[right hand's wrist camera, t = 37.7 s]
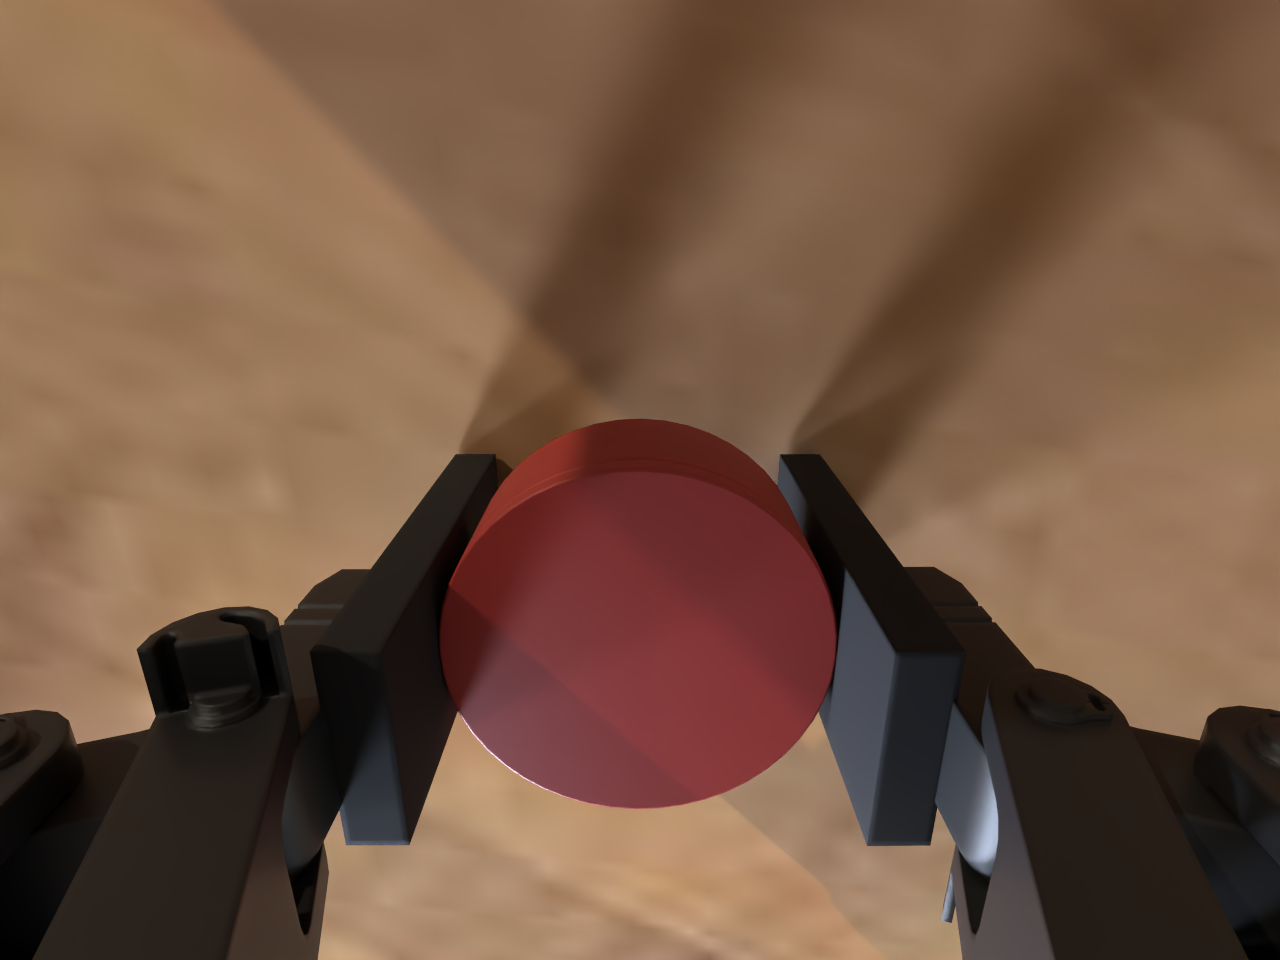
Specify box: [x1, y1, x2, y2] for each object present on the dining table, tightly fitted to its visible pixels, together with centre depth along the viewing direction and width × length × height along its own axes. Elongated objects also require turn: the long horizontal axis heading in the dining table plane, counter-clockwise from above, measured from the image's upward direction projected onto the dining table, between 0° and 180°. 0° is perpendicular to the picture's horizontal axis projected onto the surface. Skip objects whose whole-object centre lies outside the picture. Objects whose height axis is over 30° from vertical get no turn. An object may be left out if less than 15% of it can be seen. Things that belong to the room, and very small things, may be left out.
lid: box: [439, 419, 838, 809], centre depth 11 cm, size 5×5×2 cm
